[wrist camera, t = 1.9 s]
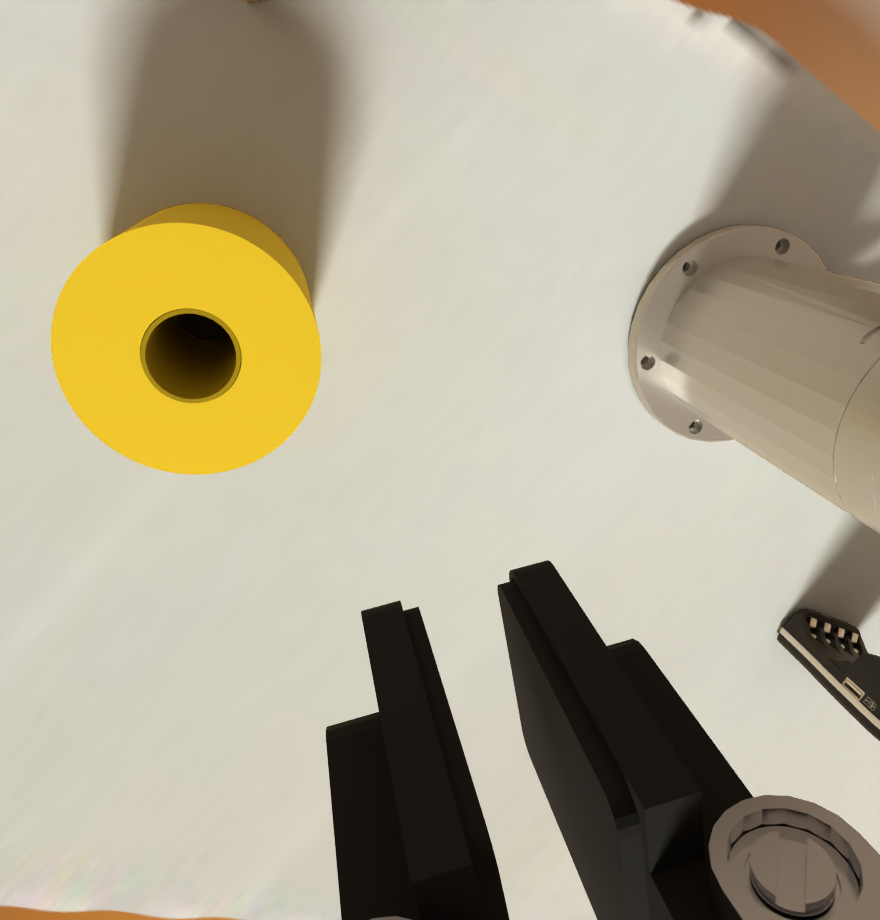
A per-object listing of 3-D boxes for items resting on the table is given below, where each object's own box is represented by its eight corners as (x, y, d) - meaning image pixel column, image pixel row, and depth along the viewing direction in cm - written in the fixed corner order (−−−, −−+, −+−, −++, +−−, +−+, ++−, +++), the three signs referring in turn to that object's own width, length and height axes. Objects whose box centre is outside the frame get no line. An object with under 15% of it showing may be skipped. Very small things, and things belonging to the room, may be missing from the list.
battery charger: (866, 619, 55) (1001, 728, 45) (837, 659, 56) (962, 775, 46) (799, 593, 53) (925, 702, 43) (769, 636, 54) (886, 752, 44)
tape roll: (163, 159, 35) (127, 165, 26) (347, 277, 38) (368, 316, 30) (67, 339, 37) (5, 399, 28) (250, 434, 40) (243, 513, 32)
